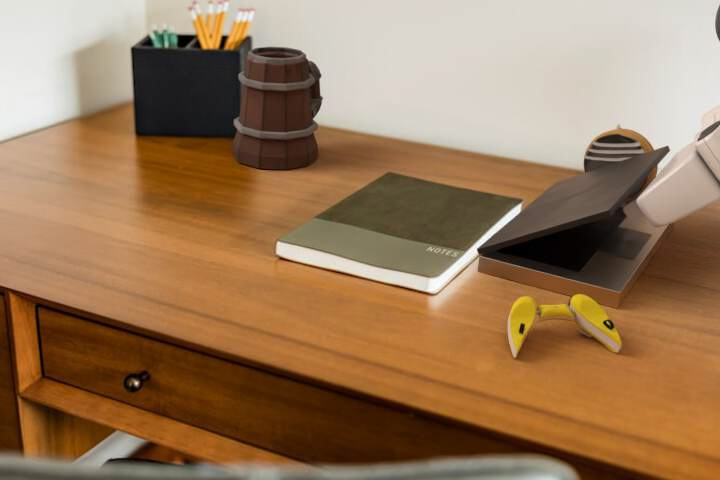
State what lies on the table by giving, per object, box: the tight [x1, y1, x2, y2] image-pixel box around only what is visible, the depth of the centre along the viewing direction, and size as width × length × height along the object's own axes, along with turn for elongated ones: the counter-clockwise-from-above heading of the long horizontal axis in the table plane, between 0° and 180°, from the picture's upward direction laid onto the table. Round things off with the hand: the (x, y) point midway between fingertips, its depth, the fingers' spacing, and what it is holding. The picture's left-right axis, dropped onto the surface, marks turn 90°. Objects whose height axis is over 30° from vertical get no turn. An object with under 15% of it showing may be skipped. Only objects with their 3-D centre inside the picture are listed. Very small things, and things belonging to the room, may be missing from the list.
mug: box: [232, 46, 324, 171], centre depth 127 cm, size 16×12×15 cm
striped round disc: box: [583, 123, 659, 202], centre depth 117 cm, size 9×4×10 cm, turn 51°
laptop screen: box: [476, 145, 671, 256], centre depth 101 cm, size 15×26×1 cm, turn 149°
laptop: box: [477, 202, 676, 309], centre depth 103 cm, size 15×26×2 cm, turn 150°
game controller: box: [506, 294, 623, 359], centre depth 82 cm, size 10×6×4 cm, turn 100°
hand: (629, 211), depth 99 cm, fingers closed
